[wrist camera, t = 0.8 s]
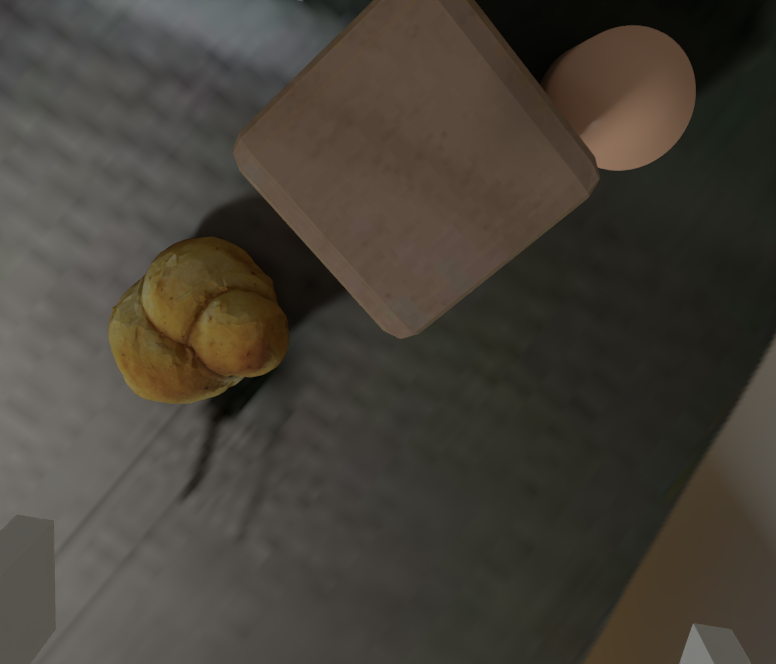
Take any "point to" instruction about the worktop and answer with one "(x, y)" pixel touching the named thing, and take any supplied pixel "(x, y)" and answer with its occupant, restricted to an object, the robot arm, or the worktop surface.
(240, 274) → the bread roll
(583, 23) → the worktop surface
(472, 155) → the wooden block
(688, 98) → the peach round cylinder
